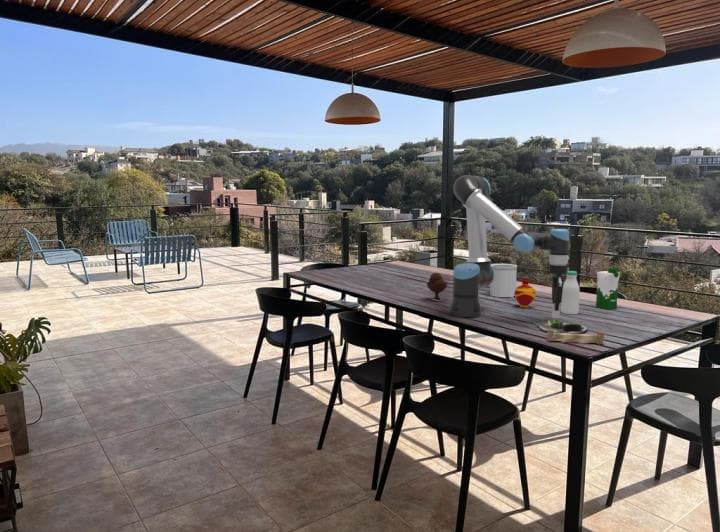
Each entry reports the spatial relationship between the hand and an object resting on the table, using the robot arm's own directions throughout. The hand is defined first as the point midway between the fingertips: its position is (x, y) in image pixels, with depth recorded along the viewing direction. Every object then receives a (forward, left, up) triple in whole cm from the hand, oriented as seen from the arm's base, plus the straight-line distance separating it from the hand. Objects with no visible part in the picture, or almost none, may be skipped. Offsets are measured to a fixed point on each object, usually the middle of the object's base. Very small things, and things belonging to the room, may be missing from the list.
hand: (555, 317), depth 221 cm
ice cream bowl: (-53, +39, -2) cm, 66 cm away
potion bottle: (-9, +30, -2) cm, 31 cm away
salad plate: (0, -17, -2) cm, 17 cm away
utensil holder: (-17, +60, -2) cm, 62 cm away
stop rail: (0, -35, -2) cm, 35 cm away
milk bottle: (+10, +19, -2) cm, 21 cm away
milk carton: (+31, +36, -2) cm, 47 cm away
